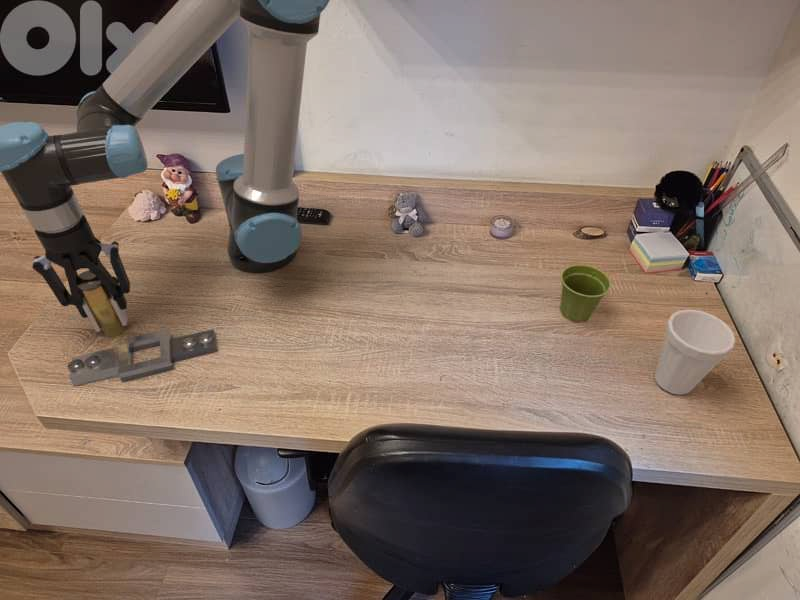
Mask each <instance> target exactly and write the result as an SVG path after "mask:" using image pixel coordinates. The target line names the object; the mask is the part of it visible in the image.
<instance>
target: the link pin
mask: <svg viewBox="0 0 800 600" xmlns="http://www.w3.org/2000/svg"><path fill="white" fill-rule="evenodd" d="M76 286H77V288H78V289H79V290H81V292H82V294H83V295H84V297H85V299H86V301H87V303H88V305H89V307H90V308H91V310H92V312H93V314H94V316H95V318H96V319H97V321H98V323H99V325H100V327H101V331H102V332H103V333H104V334H103V335H104V336H106V337H109V338H115V337H118V336H120V335H122V334H123V333H124V332H125V331H126V329H127V325H125V326H123V325H122V323H121V321H120V319H119V317H118V315H117V313H116V311H115V309H114V307H113V305H112V303H111V301H110V299H111V294H110V292H109V291H108V290H107V289H106V288H105V286H104V285H103V284H102V282H101V280H99V279H98V278H97V277H96V276H95V274H94V273H91V272H90V270H89V269H88V270H85V271H83V272H80V273H79V274H78V280H77V285H76Z"/></svg>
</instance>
